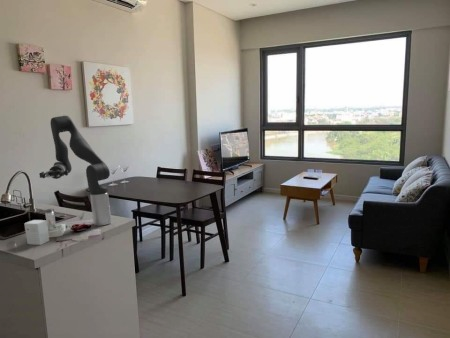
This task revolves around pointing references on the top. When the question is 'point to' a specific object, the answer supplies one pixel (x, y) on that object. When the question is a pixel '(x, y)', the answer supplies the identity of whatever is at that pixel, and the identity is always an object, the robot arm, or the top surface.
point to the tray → (57, 231)
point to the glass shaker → (50, 219)
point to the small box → (36, 232)
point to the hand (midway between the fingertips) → (51, 175)
